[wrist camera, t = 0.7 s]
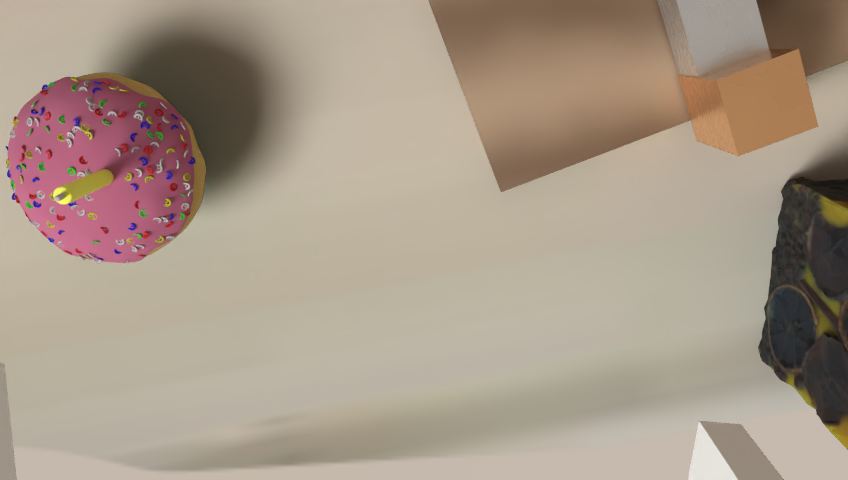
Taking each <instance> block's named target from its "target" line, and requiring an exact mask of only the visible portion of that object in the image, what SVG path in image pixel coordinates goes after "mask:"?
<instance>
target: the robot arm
mask: <svg viewBox="0 0 848 480" xmlns="http://www.w3.org/2000/svg"><path fill="white" fill-rule="evenodd" d="M0 480H17V479H16V469H15V460H14V450H13V441H12V431H11V422H10V413H9V403H8V394H7V384H6V375H5V365H4V363H0ZM688 480H784V479H783V478H782V477H781V475H780V474H779V473H778V472H777V470H776V469H775V468H774V466H773V465H772V464H771V463H770V461H769V460H768V459H767V458H766V456H765V455H764V453H763V452H762V451H761V450H760V448H759V447H758V446H757V445H756V443H755V442H754V440H753V439H752V438H751V437H750V435H749V434H748V433H747V431H746V430H745V429H744V428H743V426H742V425H741V424H729V423H717V422H705V421H699V424H698V430H697V435H696V440H695V445H694V451H693V456H692V461H691V467H690V473H689V477H688Z"/></svg>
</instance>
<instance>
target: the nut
mask: <svg viewBox="0 0 848 480" xmlns="http://www.w3.org/2000/svg"><path fill="white" fill-rule="evenodd" d="M657 1H658V4H659V7H660V11H661V14H662V17H663V21H664V24H665V27H666V31H667V34H668V38H669V41H670V44H671V48H672V51H673V54H674V58H675V61H676V64H677V68H678V71H679V74H680V75H679V76H678V79H679V82H680V86H681V89H682V93H683V96H684V99H685V103H686V106H687V109H688V113H689V116H690V119H691V123H692V126H693V129H694V133H695V136H696V139H697V141H699V142H701V143H704V144H707V145H709V146H712V147H715V148H718V149H720V150H723V151H726V152H728V153H731V154H734V155H737V156H740V155H743V154H745V153H748V152H751V151H753V150H756V149H759V148H762V147H764V146H767V145H770V144H772V143H775V142H778V141H780V140H783V139H786V138H789V137H791V136H794V135H797V134H799V133H802V132H805V131H808V130H810V129H813V128H816V127H818V124H817V120H816V116H815V112H814V108H813V104H812V100H811V96H810V92H809V88H808V84H807V80H806V76H805V72H804V68H803V64H802V60H801V56H800V52H799V49H769V47H768V43H767V39H766V36H765V32H764V28H763V24H762V20H761V17H760V13H759V9H758V5H757V1H756V0H657Z"/></svg>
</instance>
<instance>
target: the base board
mask: <svg viewBox="0 0 848 480" xmlns="http://www.w3.org/2000/svg"><path fill="white" fill-rule="evenodd" d="M756 1H757V5H758V9H759V13H760V17H761V20H762V24H763V28H764V32H765V36H766V39H767V43H768V47H769V49H799V52H800V56H801V60H802V64H803V68H804V72H805V76H808V75H810V74H813V73H816V72H818V71H821V70H824V69H826V68H829V67H832V66H834V65H837V64H839V63H842V62H845V61H847V60H848V0H756ZM429 3H430V6H431V8H432V11H433V14H434V16H435V19H436V22H437V24H438V27H439V29H440V32H441V35H442V37H443V40H444V43H445V45H446V48H447V51H448V53H449V56H450V59H451V61H452V64H453V66H454V69H455V72H456V74H457V77H458V80H459V82H460V85H461V88H462V90H463V93H464V96H465V98H466V101H467V103H468V106H469V109H470V111H471V114H472V117H473V119H474V122H475V125H476V127H477V130H478V133H479V135H480V138H481V140H482V143H483V146H484V148H485V151H486V154H487V156H488V159H489V162H490V164H491V167H492V170H493V172H494V175H495V177H496V180H497V183H498V185H499V188H500V191H501V192H503V191H505V190H508V189H511V188H513V187H516V186H519V185H521V184H524V183H526V182H529V181H532V180H534V179H537V178H540V177H542V176H545V175H548V174H550V173H553V172H555V171H558V170H561V169H563V168H566V167H569V166H571V165H574V164H576V163H579V162H582V161H584V160H587V159H590V158H592V157H595V156H597V155H600V154H603V153H605V152H608V151H611V150H613V149H616V148H619V147H621V146H624V145H626V144H629V143H632V142H634V141H637V140H640V139H642V138H645V137H647V136H650V135H653V134H655V133H658V132H661V131H663V130H666V129H668V128H671V127H674V126H676V125H679V124H682V123H684V122H687V121H690V120H691V119H690V116H689V113H688V109H687V106H686V103H685V99H684V96H683V93H682V89H681V86H680V82H679V79H678V76H679V75H680V74H679V71H678V68H677V64H676V61H675V58H674V54H673V51H672V48H671V44H670V41H669V38H668V34H667V31H666V27H665V24H664V21H663V17H662V14H661V11H660V7H659V4H658V1H657V0H429Z"/></svg>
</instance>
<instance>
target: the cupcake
mask: <svg viewBox="0 0 848 480" xmlns="http://www.w3.org/2000/svg"><path fill="white" fill-rule="evenodd" d="M45 87H46V88H45ZM6 148H7V150H8V159H6V163H7V166H6V167H7V168H8V169H9V170H8V172H7V176H8V177H10V179H11V186H12V188H13V190H14V193H13V195H12V199H13V200H15V199H16V202H17V203H19V204H20V206H21V207H22V209H23V211H24V212H25V214H26V216H27V217H28V218H29V222H30V224H31V225H33V226H34V227H35V228H37V229H38V230H39V231H40V232H41V233H42V234H43V235H44V236H45V237H46V238H48V239H49V241H50V242H53V243H54V244H55V245H56V246H57V247H58V248H60V249H61V250H62V251H64V252H66V253H68V254H70V255H73V256H77V257H80V258H81V259H82V260H85V259H84V258H86V259H90V260H94V262H95V263H98V264H100V263H101V262H102V261H104V262H118V263H124V265H126V264H127V263H129V262H136V261H140V260H142V259H143V258H144V257H146V256H148V255H150V254H152V253H154V252H155V251H157V250H159V249H160V248H162V247H164V246H165V245H167V244H168V243H169V242H171V241H172V240H173V239H174V238H176V237H177V236H178V235H179V234H180V233H181V232H182V231H183V230H184V229H185V228H186V227H187V226H188V225H189V223H190V222H191V221H192V219H193V218H194V216H195V214H196V213H197V211H198V209H199V207H200V204H201V202H202V199H203V193H204V182H205V175H206V164H205V161H204V158H203V156H202V154H201V152H200V149H199V147H198V145H197V142H196V139H195V136H194V132H193V130H192V127H191V126H190V124H189V123H188V122H187V121H186V120H185V119H184V118H183V117H182V116H181V115H180V114H179V113H178V111H177V110H176V109H175V108H174V107H173V106H172V105H171V104H170V103H169V102H168V101H167V100H166V99H165V98H164V97H162V96H161V95H160V94H159V93H158V92H157V91H156V90H154V89H153V88H151V87H150V86H148V85H145V84H143V83H140V82H137V81H134V80H132V79H129V78H127V77H124V76H121V75H118V74H114V73H94V74H88V75H84V76H80V77H77V78H74V77H65V78H62V79H60V80H58V81H56V82H54V83H53V82H52V83H50V84H49V86H48V85H44V86H43V87H42V91H41V92H39V93H38V94H37V95H36V96H35V97H33V98H32V99H31V100H30V101H29V102H27V103H26V104H25V105H24V107H23V108H22V109H21V110H20V112H19V114H18V116H17V117H14V126H13V130H12V131H11V132H10V140H9V146H8V147H7V146H6ZM9 172H10V173H9ZM14 195H15V198H14ZM98 261H99V262H98Z"/></svg>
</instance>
